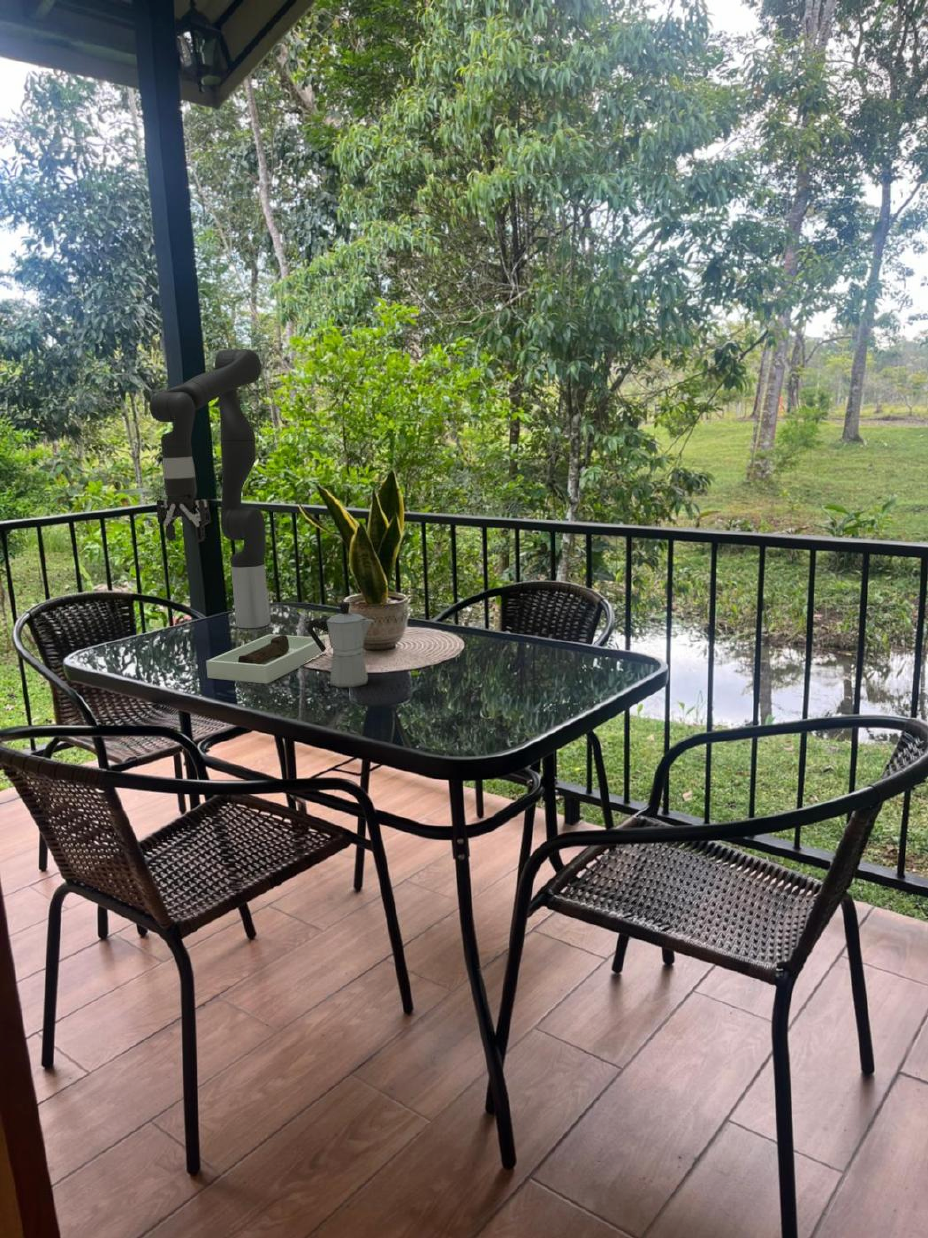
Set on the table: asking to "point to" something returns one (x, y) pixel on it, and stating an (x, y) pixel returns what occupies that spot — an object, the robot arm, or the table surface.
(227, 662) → the tray
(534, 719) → the table surface
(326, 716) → the table surface
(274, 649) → the dark brown log
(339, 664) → the coffee maker
